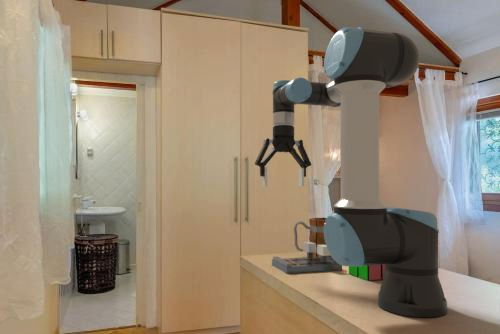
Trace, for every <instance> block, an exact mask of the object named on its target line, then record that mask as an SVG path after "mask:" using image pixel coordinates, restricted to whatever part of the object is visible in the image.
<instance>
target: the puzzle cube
mask: <svg viewBox="0 0 500 334" xmlns="http://www.w3.org/2000/svg"><path fill="white" fill-rule="evenodd" d="M348 274H349V275H351V276H353V277H356V278H359V279H362V280H364V281H367V282H371V281H372V282H374V281H380V280H382V281H383V278H384V275H385V264H382V265H366V266H360V267H356V266H348Z"/></svg>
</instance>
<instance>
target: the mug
mask: <svg viewBox="0 0 500 334" xmlns="http://www.w3.org/2000/svg"><path fill="white" fill-rule="evenodd" d="M326 218H327V217H311V218H309V219H308V221H309V225H307V224H306V223H305V222H303V221H300V220H299V221H297V222H296V223H295V224H294V227H293V235H294V237H293V238H294V246H295V247H294V248H295V249H296V250H297V251H299V252H304V251H303V248H300V247H299V245H298V231H297V228H298V226H299V225H302V226H303V227H304V228H305V229H307V230H309V235H308V240H309V241H308V242H312V243H315V244H316V252H312V257H319V254H317V245H326V243H325V238H324V223H325V222H326V221H325V220H326ZM329 257H332V256H329Z"/></svg>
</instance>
